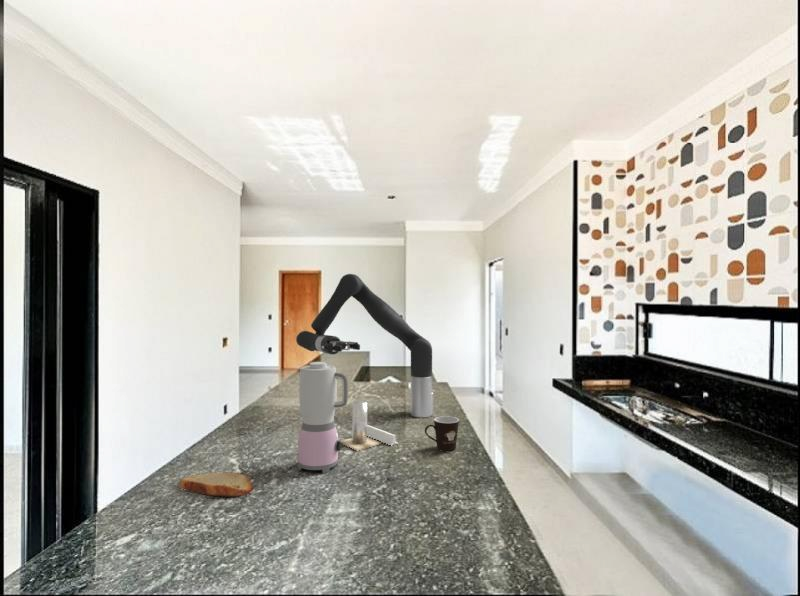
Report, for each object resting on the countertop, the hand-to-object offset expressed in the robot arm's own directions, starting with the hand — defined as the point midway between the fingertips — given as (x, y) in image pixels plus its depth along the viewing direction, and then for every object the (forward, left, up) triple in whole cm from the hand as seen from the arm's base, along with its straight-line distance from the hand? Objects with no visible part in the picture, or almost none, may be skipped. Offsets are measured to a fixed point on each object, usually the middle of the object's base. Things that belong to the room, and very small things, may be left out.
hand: (350, 348), depth 180 cm
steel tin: (+7, +16, -31) cm, 36 cm away
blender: (+28, +26, -32) cm, 50 cm away
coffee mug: (-12, +38, -32) cm, 51 cm away
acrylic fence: (-1, +16, -32) cm, 36 cm away
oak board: (+7, +16, -32) cm, 36 cm away
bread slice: (+59, +20, -33) cm, 70 cm away
